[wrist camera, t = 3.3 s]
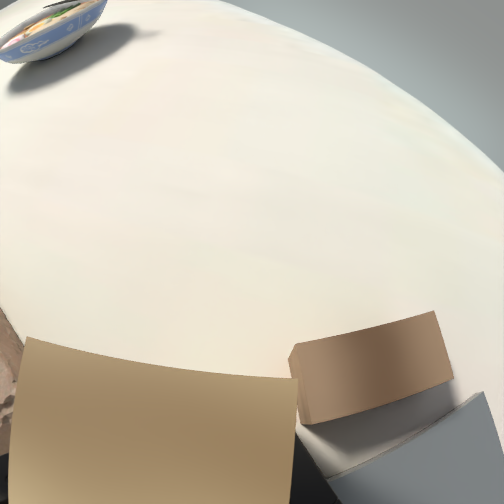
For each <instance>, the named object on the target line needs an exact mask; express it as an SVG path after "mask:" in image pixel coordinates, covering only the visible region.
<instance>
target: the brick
mask: <svg viewBox="0 0 504 504" xmlns="http://www.w3.org/2000/svg"><path fill="white" fill-rule="evenodd" d="M23 351H24V346H23V344H22V343H21V341H20V340H19V338H18V336H17V335H16V333H15V332H14V330H13V328H12V326H11V324H10V323H9V322H8V321H7V319H6V317H5V315H4V313H3V312H2V310H1V308H0V456H1V455H3V454H6V453H8V452H9V448H10V435H11V424H12V415H13V407H14V400H15V393H16V387H17V381H18V376H19V370H20V365H21V360H22V355H23Z"/></svg>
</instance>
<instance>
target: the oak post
mask: <svg viewBox="0 0 504 504" xmlns="http://www.w3.org/2000/svg"><path fill="white" fill-rule="evenodd" d="M297 394H298V379H292V378H272V377H256V376H243V375H231V374H221V373H211V372H202V371H194V370H186V369H179V368H172V367H165V366H158V365H152V364H146V363H140V362H134V361H129V360H124V359H118V358H113V357H108V356H103V355H99V354H94V353H90V352H85V351H81V350H76V349H72V348H68V347H64V346H60V345H56V344H52V343H49V342H45V341H41V340H38V339H34V338H31V337H27V338H26V342H25V346H24V351H23V355H22V360H21V365H20V370H19V376H18V381H17V387H16V393H15V400H14V407H13V415H12V424H11V435H10V448H9V469H8V499H9V504H289V499H290V489H291V478H292V466H293V454H294V441H295V427H296V411H297Z"/></svg>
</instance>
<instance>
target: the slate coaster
mask: <svg viewBox="0 0 504 504" xmlns="http://www.w3.org/2000/svg"><path fill="white" fill-rule="evenodd" d="M326 480H327V481H328V483H329V484H330V486H331V487H332V489H333V490H334V492H335V493H336V495H337V496H338V499H340V500H341V502H342V503H343V504H504V454H503V451H502V447H501V444H500V440H499V437H498V433H497V430H496V427H495V424H494V421H493V418H492V415H491V412H490V409H489V406H488V403H487V400H486V397H485V395H484V392H479V393H475V394H474V395H473V396H472V397H470V398H469V399H468V400H466V401H465V402H464V403H462V404H461V405H459V406H458V407H457V408H455V409H454V410H452V411H451V412H449V413H448V414H447V415H445V416H444V417H442V418H441V419H439V420H438V421H436V422H435V423H433V424H431V425H430V426H428V427H427V428H425V429H424V430H422V431H420V432H419V433H417V434H415V435H414V436H412V437H410V438H409V439H407V440H405V441H403V442H402V443H400V444H398V445H396V446H395V447H393V448H391V449H389V450H387V451H385V452H383V453H382V454H380V455H378V456H376V457H374V458H372V459H370V460H368V461H366V462H364V463H362V464H359V465H357V466H355V467H353V468H351V469H349V470H346V471H344V472H342V473H340V474H337V475H335V476H333V477H330V478H328V479H326Z"/></svg>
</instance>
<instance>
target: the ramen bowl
mask: <svg viewBox="0 0 504 504" xmlns="http://www.w3.org/2000/svg"><path fill="white" fill-rule="evenodd" d="M106 3H107V0H65V1H61V2H58V3H55V4H52V5H48V6H45V7H44V8H46V7H50V6H52V7H50V8H48V9H46V10H44V11H41V12H40V13H38V14H36V15H34V16H32V17H30V18H29V19H27V20H25V21H23V22H22V23H20V24H19V25H17V26H16V27H14V28H13V29H11V30H10V31H8V32H7V33H6V34H4V35H3V36H2V37H1V38H0V59H1V60H3V61H5V62H8V63H12V64H21V63H26V62H31V61H35V60H46V59H48V58H51V57H53V56H55V55H58V54H60V53H61V52H63V51H65V50H67V49H68V48H69V47H71V46H72V45H73V44H74V43H75V42H76V41H77V40H78V39H79V38H80V37H81V36H83V35H84V34H85V33H86V32H87V31H88V30H89V29H90V28H91V27H92V26H93V25H94V24H95V23H96V22H97V20H98V19H99V18H100V16H101V14H102V12H103V10H104V8H105V5H106Z"/></svg>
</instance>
